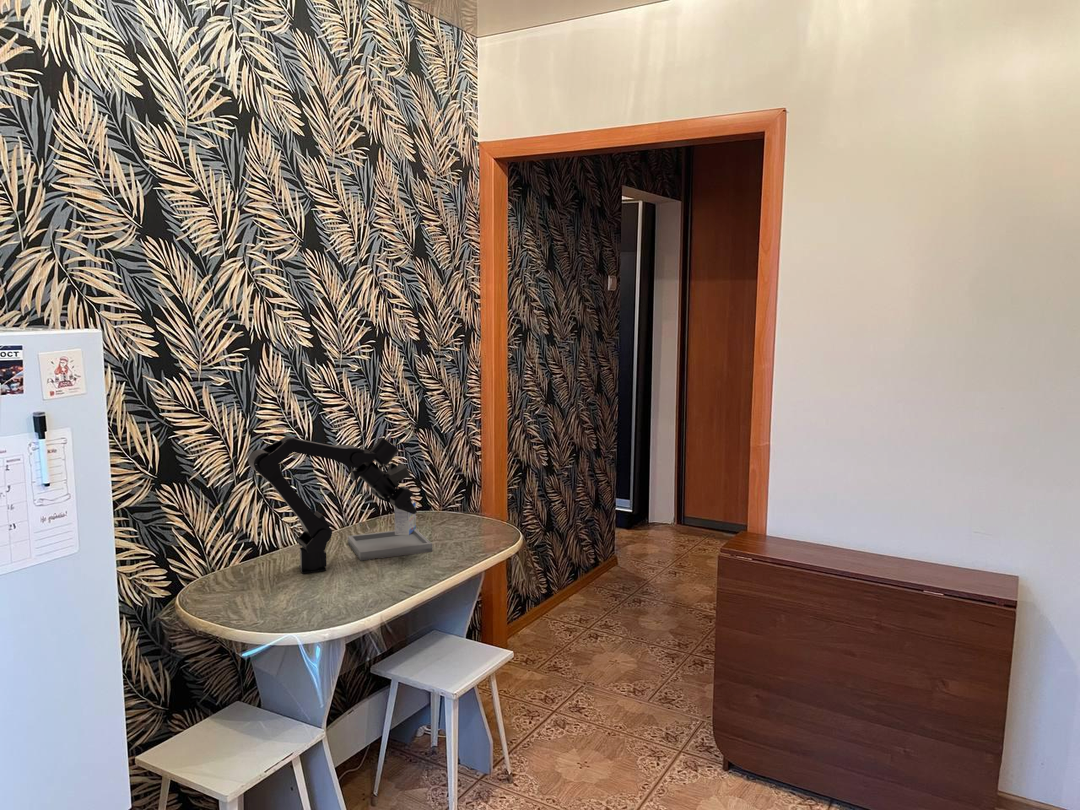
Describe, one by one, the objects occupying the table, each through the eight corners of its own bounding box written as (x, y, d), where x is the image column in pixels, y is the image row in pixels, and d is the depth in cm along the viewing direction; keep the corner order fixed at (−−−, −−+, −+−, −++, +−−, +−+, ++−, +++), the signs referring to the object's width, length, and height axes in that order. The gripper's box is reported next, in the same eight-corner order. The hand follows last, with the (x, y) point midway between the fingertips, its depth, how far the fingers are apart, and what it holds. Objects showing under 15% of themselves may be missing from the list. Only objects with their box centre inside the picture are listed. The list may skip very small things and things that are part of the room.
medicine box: (408, 536, 224) (409, 507, 223) (394, 535, 225) (394, 507, 224) (416, 528, 232) (416, 501, 231) (402, 528, 233) (402, 500, 231)
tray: (360, 560, 221) (360, 552, 221) (347, 543, 237) (347, 535, 237) (432, 551, 231) (432, 543, 230) (415, 535, 247) (415, 528, 246)
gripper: (406, 462, 216) (440, 495, 223) (381, 451, 231) (413, 483, 239) (380, 491, 212) (416, 524, 220) (356, 479, 228) (390, 510, 235)
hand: (409, 509), depth 228 cm, fingers closed on medicine box, 8 cm apart
